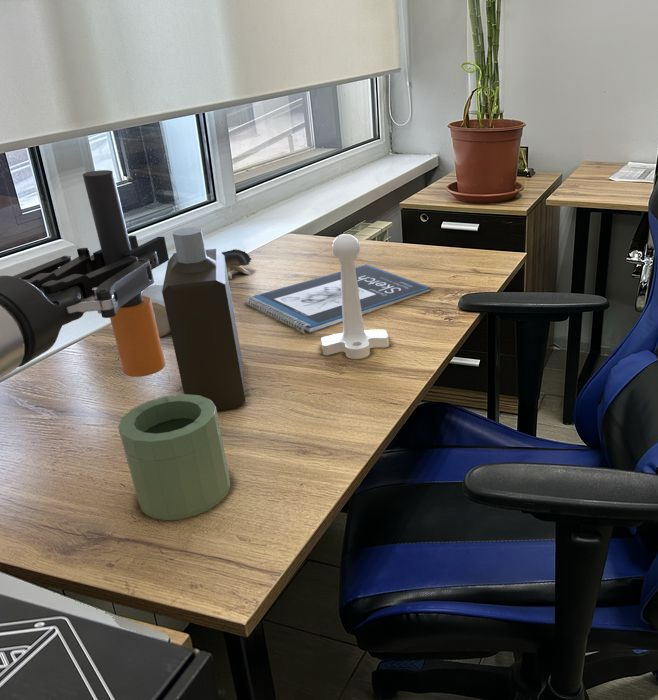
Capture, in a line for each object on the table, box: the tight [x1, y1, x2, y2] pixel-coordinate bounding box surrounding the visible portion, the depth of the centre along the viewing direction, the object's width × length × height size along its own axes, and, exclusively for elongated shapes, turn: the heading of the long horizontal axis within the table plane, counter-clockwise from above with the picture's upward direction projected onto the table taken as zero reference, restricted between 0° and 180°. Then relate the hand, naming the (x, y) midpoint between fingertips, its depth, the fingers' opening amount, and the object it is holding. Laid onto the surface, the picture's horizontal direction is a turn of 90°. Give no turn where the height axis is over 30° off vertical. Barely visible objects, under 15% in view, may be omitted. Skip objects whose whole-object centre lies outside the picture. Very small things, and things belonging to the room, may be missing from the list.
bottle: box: [162, 226, 246, 413], centre depth 103 cm, size 8×16×25 cm, turn 18°
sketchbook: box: [245, 264, 432, 334], centre depth 141 cm, size 22×30×2 cm
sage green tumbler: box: [117, 393, 231, 521], centre depth 82 cm, size 10×10×11 cm
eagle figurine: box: [221, 248, 252, 280], centre depth 153 cm, size 8×7×9 cm
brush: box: [82, 169, 166, 378], centre depth 76 cm, size 4×4×22 cm
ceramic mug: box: [141, 284, 171, 338], centre depth 127 cm, size 11×8×8 cm
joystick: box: [320, 233, 390, 360], centre depth 115 cm, size 11×8×20 cm
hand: (149, 247), depth 80 cm, fingers closed on brush, 3 cm apart
